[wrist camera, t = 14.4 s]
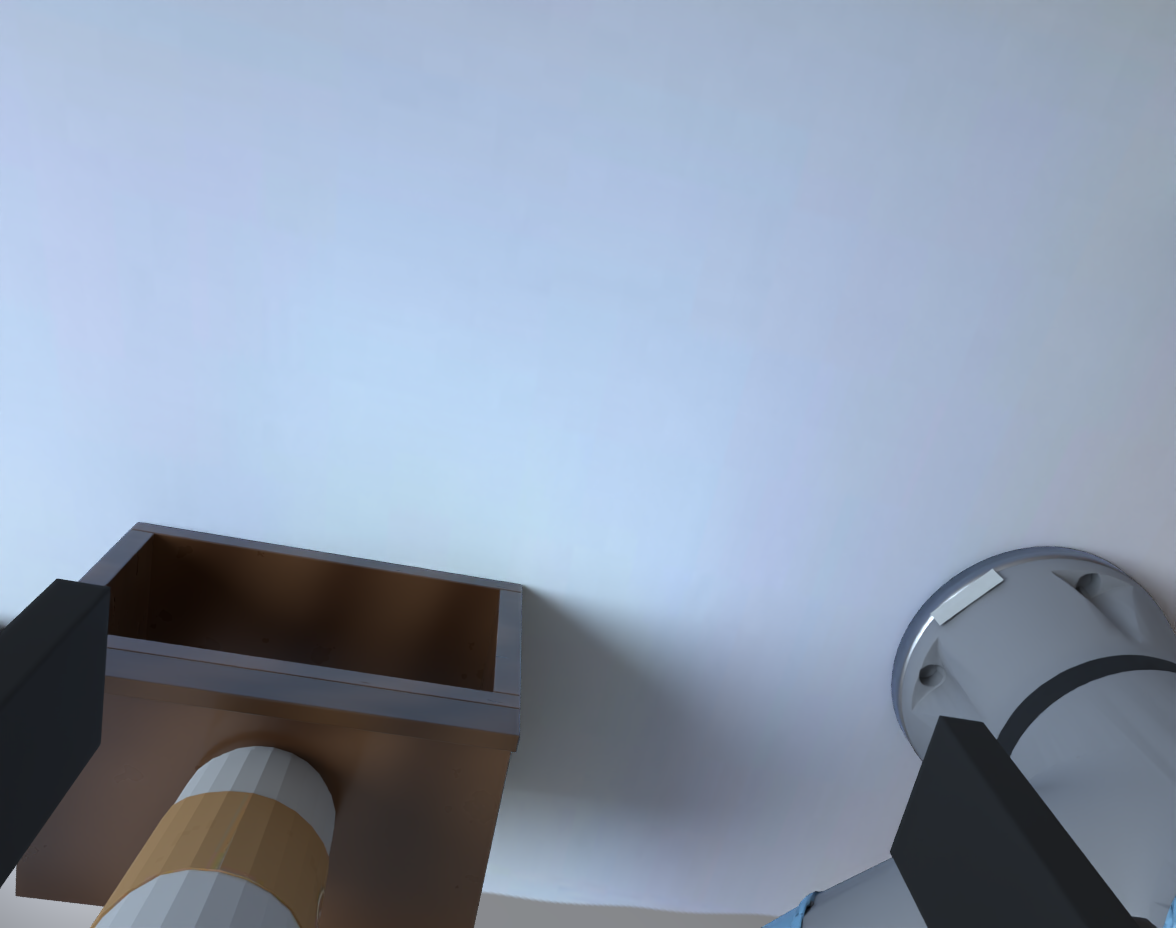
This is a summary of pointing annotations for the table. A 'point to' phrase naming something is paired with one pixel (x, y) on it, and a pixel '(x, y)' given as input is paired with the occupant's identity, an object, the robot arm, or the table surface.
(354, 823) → the box
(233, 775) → the coffee cup
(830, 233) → the table surface
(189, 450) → the table surface
